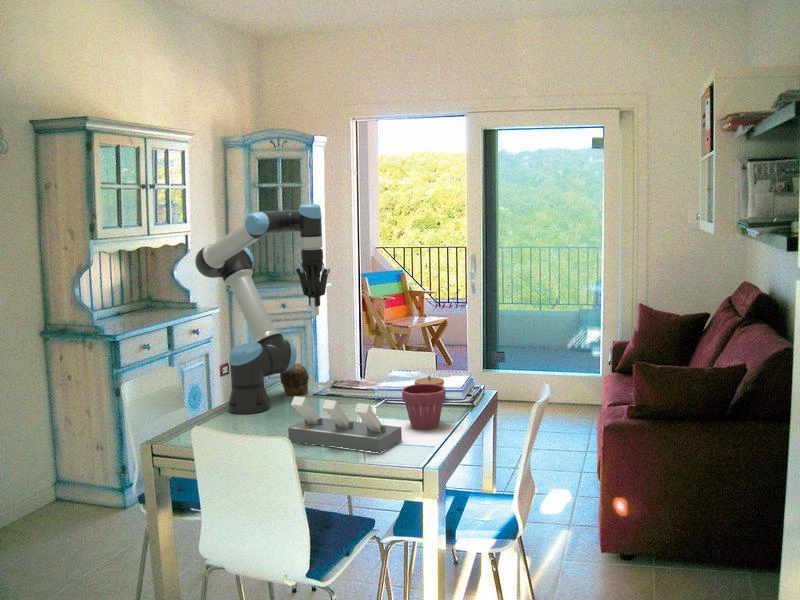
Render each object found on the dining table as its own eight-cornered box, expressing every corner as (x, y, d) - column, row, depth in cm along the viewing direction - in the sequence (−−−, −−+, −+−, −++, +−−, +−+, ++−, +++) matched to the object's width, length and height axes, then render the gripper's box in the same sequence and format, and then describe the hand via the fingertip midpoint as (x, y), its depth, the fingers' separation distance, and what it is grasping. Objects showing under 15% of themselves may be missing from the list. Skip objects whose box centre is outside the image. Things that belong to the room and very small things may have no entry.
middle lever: (341, 420, 273) (325, 399, 264) (352, 421, 271) (336, 400, 262) (338, 428, 271) (321, 408, 262) (349, 430, 269) (333, 409, 261)
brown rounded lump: (275, 394, 335) (273, 364, 333) (296, 389, 343) (295, 359, 341) (293, 398, 327) (291, 367, 326) (315, 392, 335) (313, 362, 334)
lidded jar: (441, 396, 323) (440, 371, 322) (447, 403, 312) (446, 378, 311) (412, 398, 321) (412, 374, 320) (418, 405, 311) (417, 380, 309)
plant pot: (396, 430, 281) (395, 392, 280) (413, 418, 294) (411, 382, 292) (437, 434, 276) (436, 395, 274) (452, 422, 288) (451, 384, 287)
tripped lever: (311, 417, 278) (294, 396, 269) (321, 418, 276) (305, 397, 268) (307, 425, 277) (290, 404, 268) (318, 426, 275) (301, 405, 266)
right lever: (373, 424, 267) (357, 403, 259) (384, 425, 266) (369, 404, 257) (370, 432, 266) (354, 411, 257) (381, 434, 264) (366, 412, 255)
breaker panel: (313, 429, 285) (312, 410, 284) (401, 441, 270) (401, 420, 269) (288, 441, 273) (287, 421, 272) (380, 454, 257) (379, 432, 256)
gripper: (333, 247, 302) (336, 314, 305) (302, 247, 308) (305, 313, 311) (321, 249, 295) (325, 317, 298) (290, 249, 301) (293, 316, 304)
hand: (315, 315), depth 305 cm, fingers closed
